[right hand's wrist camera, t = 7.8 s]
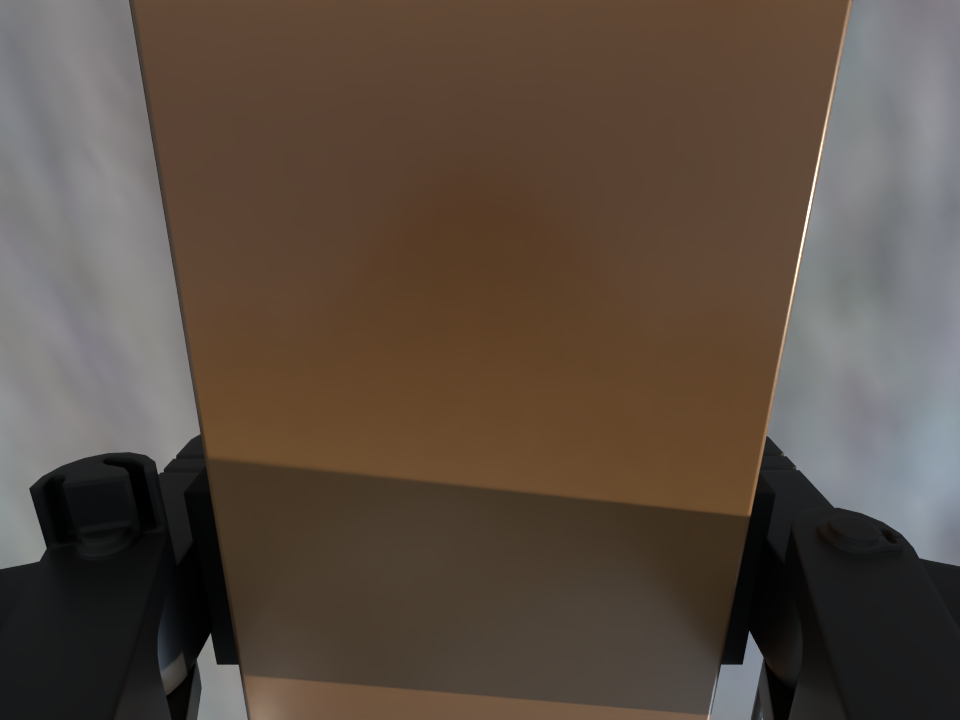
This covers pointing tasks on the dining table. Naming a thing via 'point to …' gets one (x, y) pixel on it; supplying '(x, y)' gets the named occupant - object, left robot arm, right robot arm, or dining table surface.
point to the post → (485, 333)
